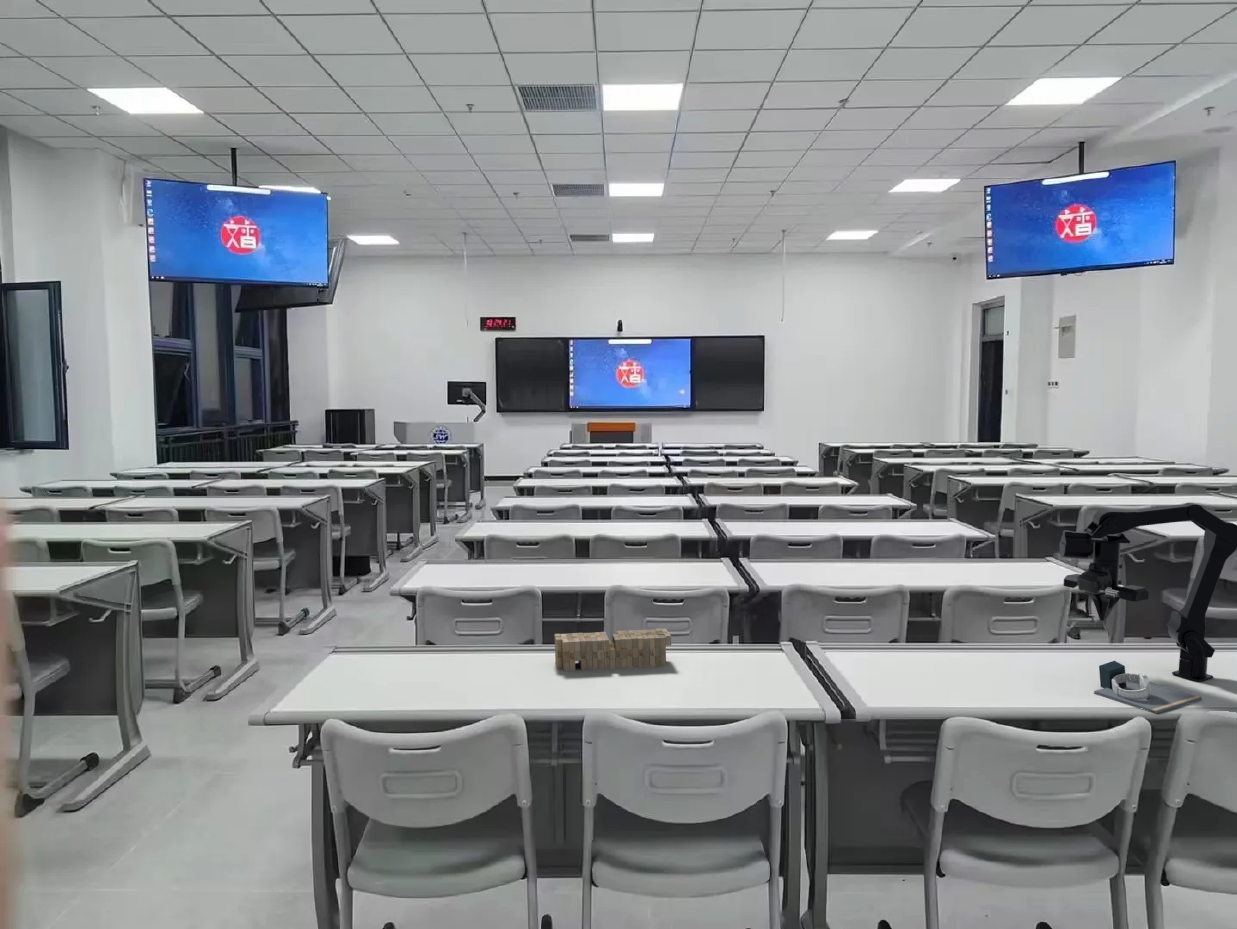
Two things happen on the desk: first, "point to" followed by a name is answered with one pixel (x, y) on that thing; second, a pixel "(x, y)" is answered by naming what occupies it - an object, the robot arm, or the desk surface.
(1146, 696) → the watch
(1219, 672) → the desk surface
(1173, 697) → the mat
